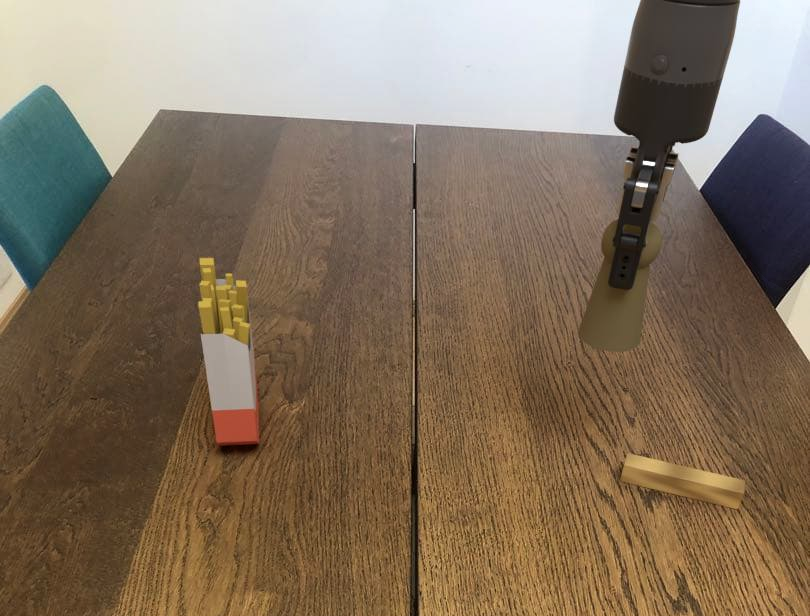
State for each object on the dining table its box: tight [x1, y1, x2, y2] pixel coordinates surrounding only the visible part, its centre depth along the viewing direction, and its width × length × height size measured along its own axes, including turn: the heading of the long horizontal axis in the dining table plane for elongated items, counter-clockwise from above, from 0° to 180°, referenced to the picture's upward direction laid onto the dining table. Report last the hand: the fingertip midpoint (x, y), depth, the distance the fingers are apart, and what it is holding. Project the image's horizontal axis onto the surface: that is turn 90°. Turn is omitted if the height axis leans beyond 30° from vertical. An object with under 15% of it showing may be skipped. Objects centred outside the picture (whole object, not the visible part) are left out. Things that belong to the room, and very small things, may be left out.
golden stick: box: [619, 452, 746, 510], centre depth 84 cm, size 12×2×2 cm, turn 71°
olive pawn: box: [577, 218, 663, 353], centre depth 75 cm, size 6×6×11 cm
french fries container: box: [197, 257, 260, 447], centre depth 83 cm, size 5×11×18 cm, turn 8°
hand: (624, 272), depth 74 cm, fingers closed on olive pawn, 5 cm apart
